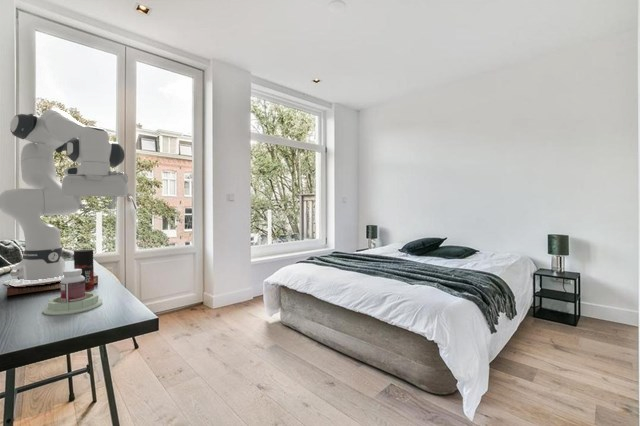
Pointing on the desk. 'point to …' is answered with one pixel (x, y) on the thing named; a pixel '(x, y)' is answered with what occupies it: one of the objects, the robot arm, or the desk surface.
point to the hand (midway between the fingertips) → (96, 209)
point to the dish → (45, 310)
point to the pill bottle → (72, 286)
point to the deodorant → (85, 266)
